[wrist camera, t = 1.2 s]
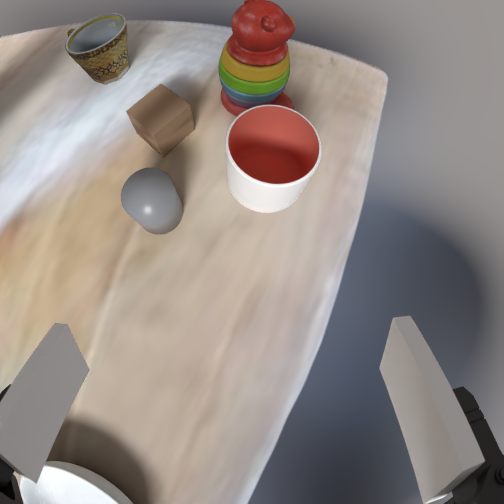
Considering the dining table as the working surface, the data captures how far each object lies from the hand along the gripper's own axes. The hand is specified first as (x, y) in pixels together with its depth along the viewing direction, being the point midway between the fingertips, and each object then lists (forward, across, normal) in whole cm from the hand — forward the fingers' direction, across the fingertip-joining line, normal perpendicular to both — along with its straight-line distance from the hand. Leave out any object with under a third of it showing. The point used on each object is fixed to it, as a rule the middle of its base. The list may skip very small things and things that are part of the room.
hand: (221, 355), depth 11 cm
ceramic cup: (+42, -24, +20) cm, 53 cm away
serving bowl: (+2, -26, -38) cm, 46 cm away
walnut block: (+35, -11, +7) cm, 37 cm away
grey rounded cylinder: (+28, -11, -3) cm, 30 cm away
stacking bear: (+40, +1, +11) cm, 41 cm away
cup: (+32, +2, 0) cm, 32 cm away
